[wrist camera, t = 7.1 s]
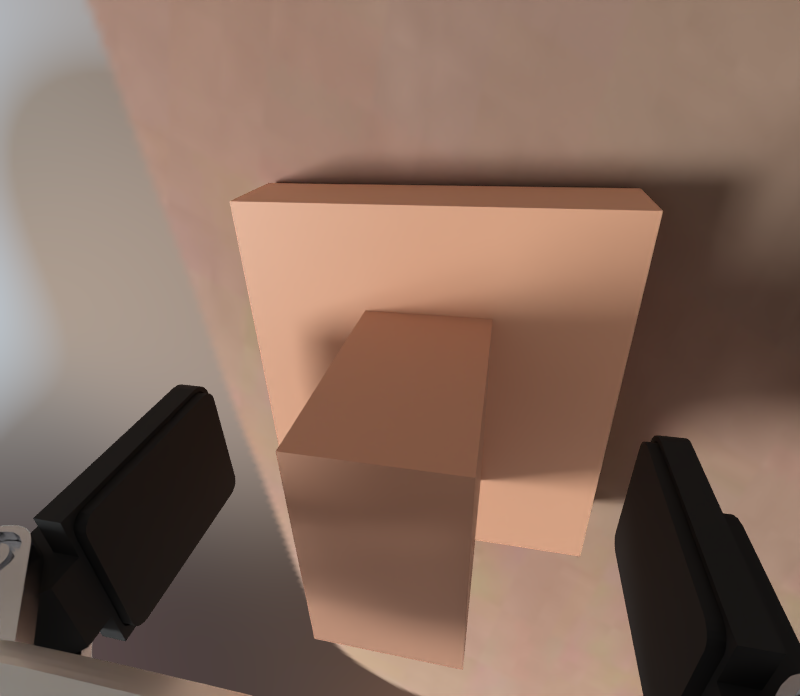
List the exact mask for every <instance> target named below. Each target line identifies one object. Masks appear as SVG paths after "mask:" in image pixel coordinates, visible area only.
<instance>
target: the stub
mask: <svg viewBox="0 0 800 696" xmlns="http://www.w3.org/2000/svg"><path fill="white" fill-rule="evenodd" d="M230 205H231V210H232V215H233V220H234V225H235V230H236V235H237V240H238V245H239V250H240V255H241V260H242V265H243V270H244V275H245V280H246V285H247V290H248V295H249V300H250V304H251V309H252V314H253V319H254V324H255V329H256V334H257V339H258V344H259V349H260V354H261V359H262V364H263V369H264V374H265V379H266V384H267V389H268V394H269V399H270V404H271V409H272V414H273V419H274V424H275V429H276V434H277V439H278V444H279V447H278V449H277V450H276V455H277V460H278V465H279V470H280V474H281V479H282V484H283V489H284V494H285V499H286V503H287V508H288V513H289V518H290V523H291V528H292V532H293V537H294V542H295V547H296V552H297V556H298V561H299V566H300V571H301V576H302V581H303V585H304V590H305V595H306V600H307V604H308V610H309V614H310V619H311V624H312V628H313V633H314V638H315V639H319V640H324V641H329V642H333V643H338V644H343V645H348V646H352V647H357V648H362V649H367V650H371V651H376V652H381V653H386V654H390V655H395V656H400V657H405V658H409V659H414V660H419V661H424V662H428V663H433V664H438V665H443V666H447V667H452V668H457V669H462V670H463V661H464V651H465V640H466V630H467V619H468V609H469V598H470V588H471V578H472V567H473V557H474V546H475V540H478V541H485V542H491V543H498V544H504V545H510V546H517V547H523V548H529V549H536V550H542V551H549V552H555V553H561V554H568V555H574V556H580V555H581V550H582V546H583V542H584V538H585V534H586V530H587V525H588V521H589V517H590V513H591V509H592V505H593V500H594V496H595V492H596V488H597V484H598V480H599V475H600V471H601V467H602V463H603V459H604V455H605V450H606V446H607V442H608V438H609V434H610V430H611V425H612V421H613V417H614V413H615V409H616V405H617V400H618V396H619V392H620V388H621V384H622V380H623V375H624V371H625V367H626V363H627V359H628V355H629V350H630V346H631V342H632V338H633V334H634V330H635V325H636V321H637V317H638V313H639V309H640V305H641V300H642V296H643V292H644V288H645V284H646V280H647V275H648V271H649V267H650V263H651V259H652V255H653V250H654V246H655V242H656V238H657V234H658V230H659V225H660V221H661V217H662V213H663V211H662V210H661V209H660V208H659V206H658V205H657V204H656V203H655V202H654V201H653V200H652V199H651V198H650V197H649V196H648V195H647V194H646V193H645V192H644V191H643V190H642V189H641V188H580V187H509V186H438V185H366V184H295V183H268V184H266V185H264V186H262V187H259V188H257V189H255V190H253V191H251V192H249V193H247V194H244V195H242V196H240V197H238V198H236V199H234V200H231V201H230Z"/></svg>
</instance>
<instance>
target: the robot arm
mask: <svg viewBox="0 0 800 696" xmlns="http://www.w3.org/2000/svg"><path fill="white" fill-rule="evenodd" d="M234 486H235V475H234V471H233V468H232V464H231V460H230V457H229V453H228V449H227V445H226V442H225V438H224V435H223V431H222V427H221V423H220V420H219V416H218V412H217V409H216V405H215V401H214V398H213V396H212V395H211V394H208V392H207V390H206V389H205V388H204V387H200V386H190V385H177V386H176V387H174V388H173V389H172V390H171V391H170V392H169V393H168V394H167V395H165V396H164V397H163V398H162V399H161V400H160V401H159V402H158V403H157V404H156V405H155V406H154V407H153V408H151V410H149V411H148V412H147V413H146V414H145V415H144V416H143V417H142V418H141V419H140V420H139V421H137V422H136V423H135V424H134V425H133V426H132V427H131V428H130V429H129V430H128V431H127V432H126V433H125V434H123V435H122V436H121V437H120V438H119V439H118V440H117V441H116V442H115V443H114V444H113V445H112V446H111V447H109V448H108V449H107V450H106V451H105V452H104V453H103V454H102V455H101V456H100V457H99V458H98V459H97V460H96V461H94V462H93V463H92V464H91V465H90V466H89V467H88V468H87V469H86V470H85V471H84V472H83V473H82V474H81V475H79V476H78V477H77V478H76V479H75V480H74V481H73V482H72V483H71V484H70V485H69V486H67V487H66V488H65V489H64V490H63V491H62V492H61V493H60V494H59V495H58V496H57V497H56V498H55V499H53V501H51V502H50V503H49V504H48V505H47V506H46V507H45V508H44V509H43V510H42V511H41V512H39V514H37V515H36V516H35V517H34V518H33V519H34V520H35V522H36V524H37V525H38V527H37V528H36V529H34V530H33V531H32V533H30V532H29V531H28V530H27V529H26V528H25V527H22V526H18V525H5V526H0V696H251V695H247V694H243V693H239V692H235V691H230V690H226V689H222V688H218V687H214V686H210V685H206V684H201V683H197V682H193V681H188V680H184V679H180V678H176V677H172V676H167V675H163V674H159V673H155V672H150V671H146V670H142V669H138V668H133V667H129V666H125V665H121V664H117V663H112V662H108V661H104V660H99V659H95V658H92V642H93V640H94V639H95V637H96V636H97V635H98V633H99V632H101V634H102V635H103V636H105V637H110V638H114V639H119V640H123V641H126V640H127V638H128V637H129V636H130V634H131V633H132V631H133V630H134V628H135V627H136V626H139V625H141V624H142V623H143V622H145V620H146V619H147V618H148V617H149V615H150V614H151V612H152V611H153V609H154V608H155V606H156V605H157V603H158V602H159V600H160V599H161V597H162V596H163V594H164V593H165V591H166V590H167V588H168V587H169V585H170V584H171V583H172V581H173V580H174V578H175V577H176V575H177V574H178V572H179V571H180V569H181V567H182V566H183V565H184V563H185V562H186V560H187V559H188V557H189V556H190V554H191V553H192V551H193V550H194V548H195V547H196V545H197V544H198V543H199V541H200V540H201V538H202V537H203V535H204V534H205V532H206V531H207V529H208V528H209V526H210V525H211V523H212V522H213V520H214V519H215V517H216V516H217V514H218V513H219V511H220V510H221V508H222V507H223V506H224V504H225V503H226V501H227V500H228V498H229V497H230V495H231V494H232V492H233V489H234ZM615 553H616V558H617V563H618V568H619V573H620V578H621V583H622V588H623V594H624V599H625V604H626V609H627V614H628V619H629V624H630V629H631V635H632V640H633V645H634V650H635V655H636V660H637V665H638V670H639V675H640V681H641V686H642V691H643V696H800V643H799V641H798V639H797V637H796V635H795V633H794V631H793V629H792V627H791V624H790V622H789V620H788V618H787V616H786V614H785V612H784V610H783V608H782V606H781V604H780V602H779V600H778V598H777V595H776V593H775V591H774V589H773V587H772V585H771V583H770V581H769V579H768V577H767V575H766V573H765V571H764V569H763V567H762V564H761V562H760V560H759V558H758V556H757V554H756V552H755V550H754V548H753V546H752V544H751V542H750V540H749V538H748V536H747V533H746V531H745V529H744V527H743V526H742V524H741V522H740V521H739V519H738V518H737V517H735V516H734V515H732V514H724V513H722V510H721V508H720V506H719V504H718V501H717V499H716V497H715V495H714V493H713V490H712V488H711V486H710V484H709V482H708V479H707V477H706V475H705V473H704V471H703V468H702V466H701V464H700V462H699V459H698V457H697V455H696V453H695V451H694V448H693V446H692V444H691V442H690V441H689V440H688V439H686V438H677V437H667V436H658V435H656V436H654V437H653V438H652V440H651V442H642V444H641V446H640V449H639V453H638V456H637V460H636V463H635V467H634V470H633V474H632V477H631V481H630V484H629V488H628V491H627V495H626V498H625V502H624V505H623V509H622V512H621V516H620V519H619V523H618V526H617V530H616V534H615Z"/></svg>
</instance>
